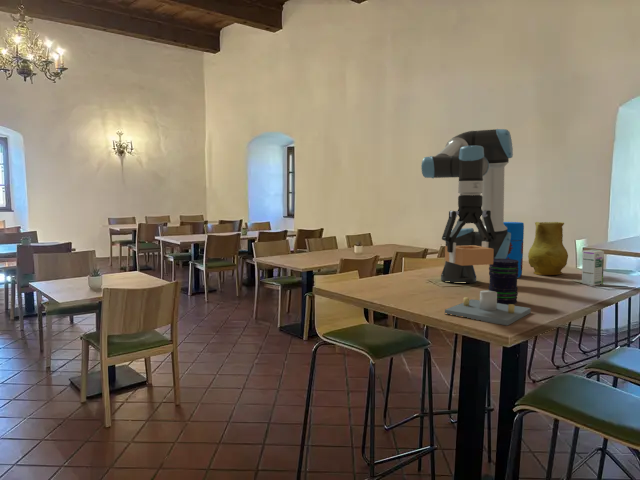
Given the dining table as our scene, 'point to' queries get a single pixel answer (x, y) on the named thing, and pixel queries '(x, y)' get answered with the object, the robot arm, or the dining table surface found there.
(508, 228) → the thermos
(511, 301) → the storage jar
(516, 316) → the post board
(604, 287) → the dining table surface
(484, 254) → the square frame
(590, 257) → the syrup box
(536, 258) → the yellow rounded vessel
